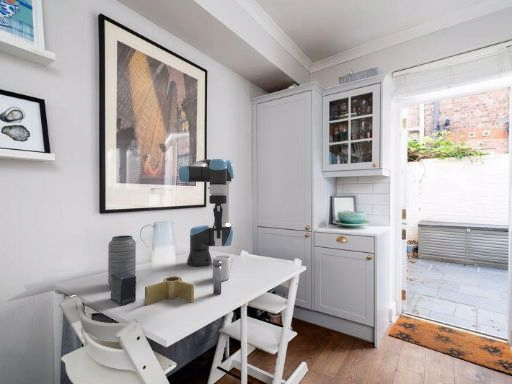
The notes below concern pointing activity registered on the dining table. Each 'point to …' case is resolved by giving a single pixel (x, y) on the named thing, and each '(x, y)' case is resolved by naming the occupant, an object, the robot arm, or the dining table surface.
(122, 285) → the small box
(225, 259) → the mug
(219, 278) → the pin
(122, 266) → the vase
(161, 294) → the hinge
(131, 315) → the dining table surface
